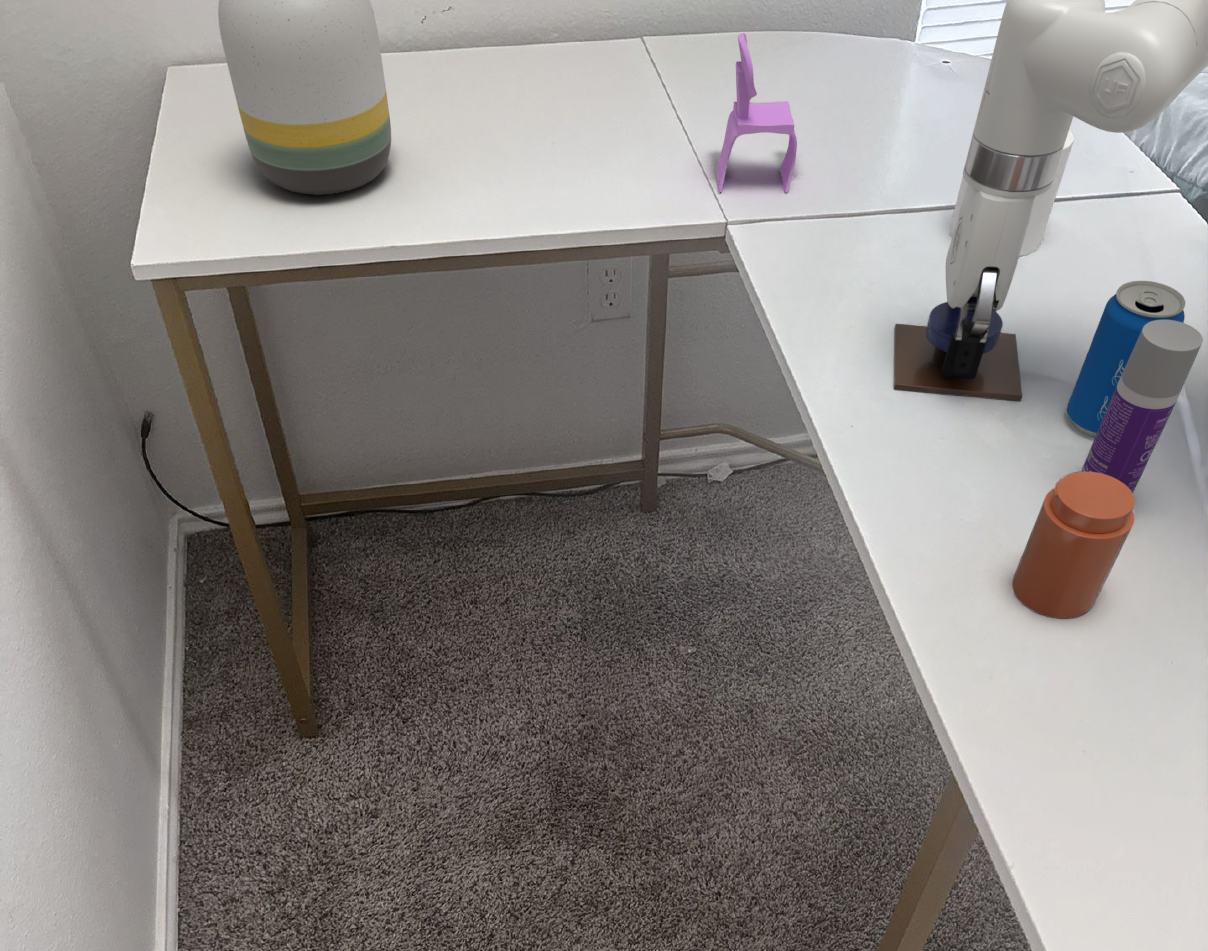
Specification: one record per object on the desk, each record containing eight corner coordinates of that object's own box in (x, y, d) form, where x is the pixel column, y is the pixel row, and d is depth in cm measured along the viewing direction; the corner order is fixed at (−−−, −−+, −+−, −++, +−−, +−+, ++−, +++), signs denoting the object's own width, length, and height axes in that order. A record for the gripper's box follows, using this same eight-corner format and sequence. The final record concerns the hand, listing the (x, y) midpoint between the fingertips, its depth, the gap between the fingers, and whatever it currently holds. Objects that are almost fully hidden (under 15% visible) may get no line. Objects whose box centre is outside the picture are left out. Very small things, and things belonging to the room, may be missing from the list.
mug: (1052, 275, 118) (1087, 170, 109) (957, 271, 118) (984, 166, 110) (1034, 215, 126) (1065, 113, 117) (944, 211, 126) (969, 110, 118)
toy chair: (793, 197, 128) (812, 50, 116) (718, 197, 128) (730, 51, 116) (785, 165, 133) (803, 21, 121) (714, 165, 133) (724, 22, 121)
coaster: (1014, 339, 110) (1015, 333, 110) (1020, 401, 104) (1022, 395, 103) (894, 328, 111) (895, 323, 111) (893, 389, 105) (894, 384, 104)
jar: (1091, 567, 90) (1136, 471, 82) (1099, 623, 86) (1147, 527, 78) (1010, 558, 90) (1047, 462, 83) (1014, 613, 86) (1053, 517, 79)
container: (1125, 518, 93) (1202, 356, 81) (1069, 505, 94) (1137, 344, 82) (1131, 486, 96) (1206, 325, 84) (1076, 474, 97) (1143, 313, 85)
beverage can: (1061, 435, 100) (1110, 310, 91) (1065, 396, 104) (1112, 273, 94) (1134, 448, 99) (1191, 323, 90) (1135, 408, 103) (1190, 284, 93)
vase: (296, 223, 125) (239, -31, 105) (233, 169, 133) (170, -76, 114) (423, 182, 131) (391, -65, 111) (356, 133, 139) (315, -105, 120)
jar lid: (914, 343, 105) (918, 327, 103) (938, 309, 108) (942, 293, 107) (984, 363, 103) (989, 346, 101) (1006, 328, 106) (1012, 311, 105)
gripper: (964, 114, 98) (917, 305, 112) (970, 204, 88) (918, 402, 102) (1049, 120, 97) (991, 311, 112) (1066, 212, 87) (1000, 409, 101)
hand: (957, 353), depth 107 cm, fingers closed on jar lid, 6 cm apart
